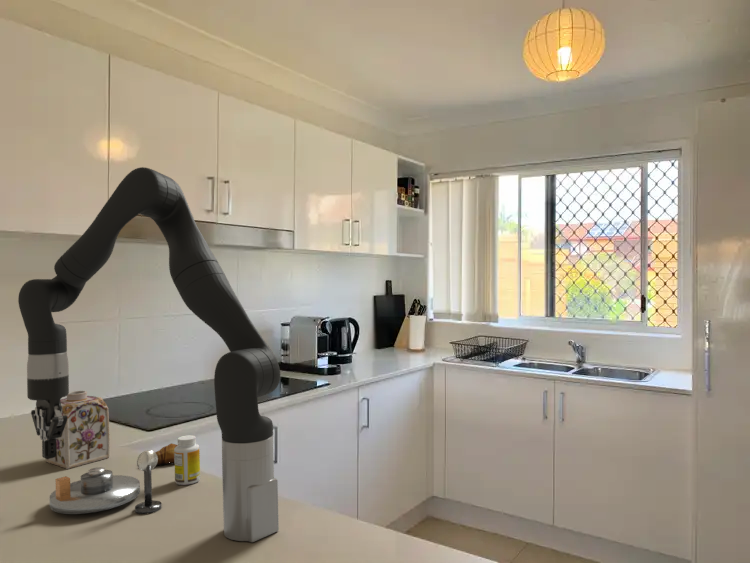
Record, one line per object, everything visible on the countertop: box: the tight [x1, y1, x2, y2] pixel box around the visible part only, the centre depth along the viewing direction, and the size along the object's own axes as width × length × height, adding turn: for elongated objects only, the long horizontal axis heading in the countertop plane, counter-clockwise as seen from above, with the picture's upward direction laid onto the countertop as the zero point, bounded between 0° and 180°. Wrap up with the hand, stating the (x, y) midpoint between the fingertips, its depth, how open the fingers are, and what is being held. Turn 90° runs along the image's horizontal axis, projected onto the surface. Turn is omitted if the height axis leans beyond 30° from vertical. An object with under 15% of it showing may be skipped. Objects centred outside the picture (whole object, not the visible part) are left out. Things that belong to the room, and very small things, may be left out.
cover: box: [80, 466, 114, 495], centre depth 119 cm, size 6×6×4 cm
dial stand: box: [134, 449, 163, 515], centre depth 115 cm, size 5×5×12 cm
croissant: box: [154, 443, 178, 466], centre depth 146 cm, size 14×7×5 cm, turn 122°
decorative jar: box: [45, 390, 111, 470], centre depth 150 cm, size 12×12×18 cm
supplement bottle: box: [174, 434, 201, 486], centre depth 131 cm, size 6×6×10 cm
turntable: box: [49, 474, 141, 515], centre depth 119 cm, size 17×17×6 cm
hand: (49, 457), depth 119 cm, fingers closed
